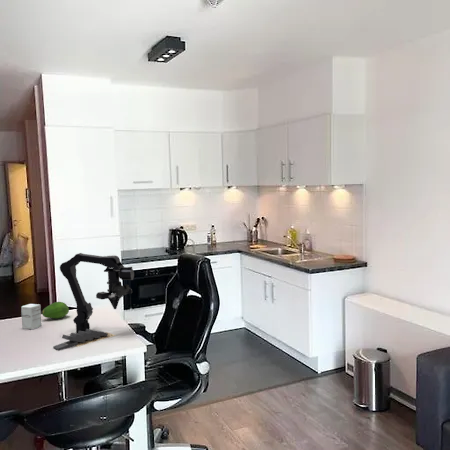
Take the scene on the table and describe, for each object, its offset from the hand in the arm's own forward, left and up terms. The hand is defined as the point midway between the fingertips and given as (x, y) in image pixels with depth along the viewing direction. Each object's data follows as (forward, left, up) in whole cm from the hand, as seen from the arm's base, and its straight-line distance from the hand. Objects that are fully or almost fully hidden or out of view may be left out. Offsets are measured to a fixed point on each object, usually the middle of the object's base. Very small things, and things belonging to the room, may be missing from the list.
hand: (115, 309), depth 245 cm
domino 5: (-6, -4, -12) cm, 14 cm away
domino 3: (-13, -8, -12) cm, 20 cm away
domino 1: (-21, -12, -11) cm, 27 cm away
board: (-12, -8, -13) cm, 19 cm away
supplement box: (-44, +29, -13) cm, 54 cm away
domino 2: (-17, -10, -12) cm, 23 cm away
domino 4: (-10, -6, -12) cm, 16 cm away
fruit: (-32, +43, -13) cm, 55 cm away
